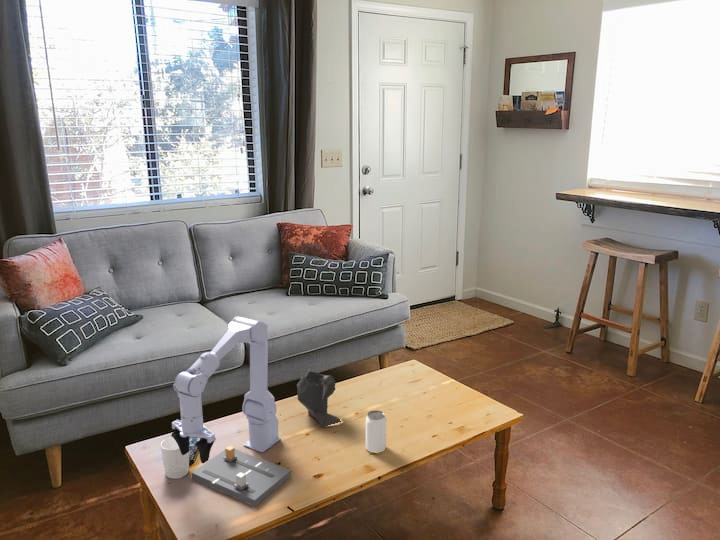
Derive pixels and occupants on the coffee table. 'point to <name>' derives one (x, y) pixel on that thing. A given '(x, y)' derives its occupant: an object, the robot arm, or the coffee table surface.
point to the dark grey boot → (317, 396)
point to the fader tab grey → (241, 481)
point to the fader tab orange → (230, 454)
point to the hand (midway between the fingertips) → (195, 457)
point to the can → (375, 431)
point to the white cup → (174, 459)
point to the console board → (257, 472)
